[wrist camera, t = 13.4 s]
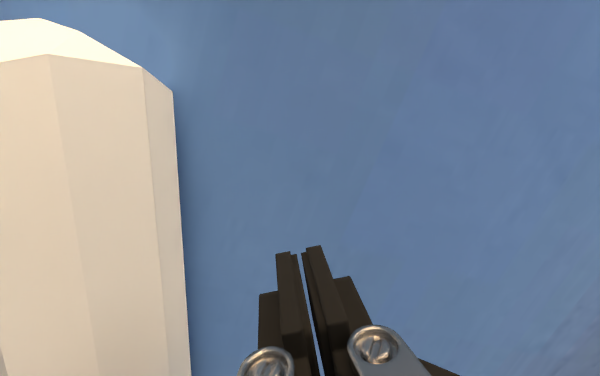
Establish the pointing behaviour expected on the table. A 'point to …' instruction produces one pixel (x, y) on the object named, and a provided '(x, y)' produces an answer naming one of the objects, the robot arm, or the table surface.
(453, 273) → the table surface
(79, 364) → the crystal
